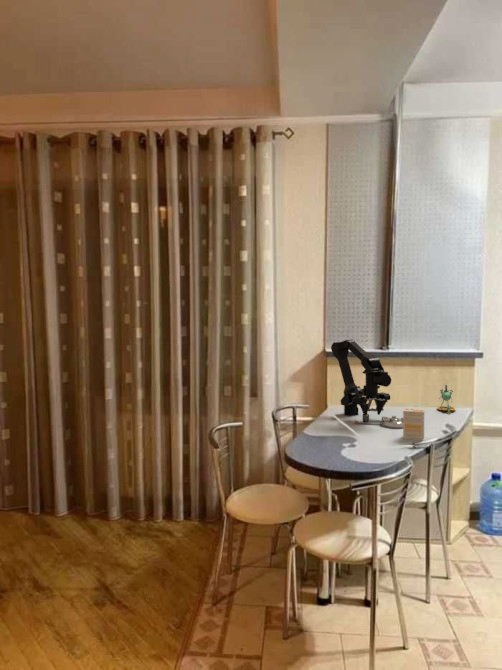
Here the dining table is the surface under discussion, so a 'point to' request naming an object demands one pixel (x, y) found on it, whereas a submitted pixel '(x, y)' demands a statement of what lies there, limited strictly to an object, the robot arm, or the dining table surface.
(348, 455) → the dining table surface
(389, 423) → the gear crank handle
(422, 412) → the supplement box
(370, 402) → the portable electronic device stand
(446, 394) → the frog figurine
